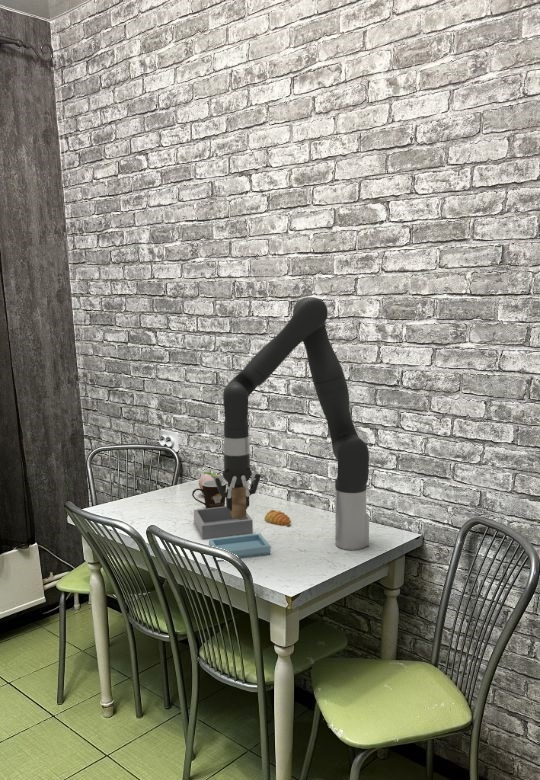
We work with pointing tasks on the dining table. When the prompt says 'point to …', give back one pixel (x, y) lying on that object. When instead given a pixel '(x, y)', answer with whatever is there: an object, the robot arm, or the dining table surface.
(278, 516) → the pastry
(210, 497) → the coffee mug
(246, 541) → the shallow blue tray
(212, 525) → the low gray crate
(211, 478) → the decorative fruit
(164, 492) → the dining table surface
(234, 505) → the walnut block
